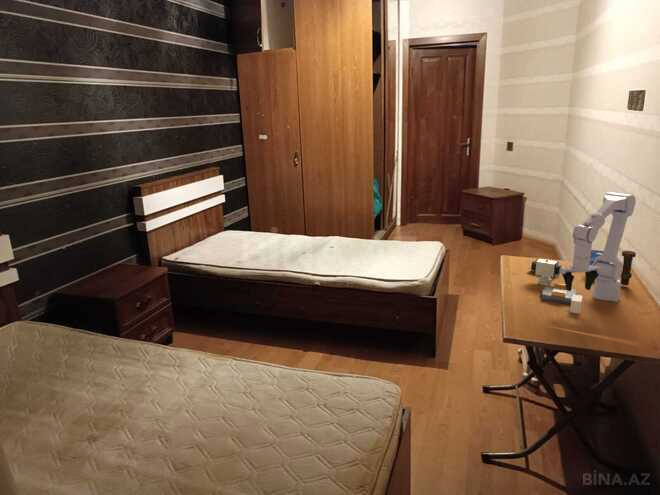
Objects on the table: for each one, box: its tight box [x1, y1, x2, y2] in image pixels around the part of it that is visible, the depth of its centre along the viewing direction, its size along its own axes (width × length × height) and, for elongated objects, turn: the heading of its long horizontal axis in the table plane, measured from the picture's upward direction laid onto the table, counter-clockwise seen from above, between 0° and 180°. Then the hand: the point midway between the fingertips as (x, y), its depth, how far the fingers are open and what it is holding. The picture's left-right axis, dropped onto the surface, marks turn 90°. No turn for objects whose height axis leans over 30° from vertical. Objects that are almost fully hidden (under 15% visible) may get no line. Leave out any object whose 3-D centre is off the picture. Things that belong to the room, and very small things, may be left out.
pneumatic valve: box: [530, 258, 563, 286], centre depth 214 cm, size 6×12×12 cm, turn 53°
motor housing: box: [540, 282, 577, 305], centre depth 200 cm, size 15×12×4 cm
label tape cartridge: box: [589, 249, 611, 266], centre depth 221 cm, size 9×4×12 cm, turn 61°
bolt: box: [620, 250, 637, 286], centre depth 210 cm, size 6×5×15 cm
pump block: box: [569, 294, 583, 315], centre depth 188 cm, size 4×7×5 cm, turn 150°
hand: (577, 289), depth 186 cm, fingers open, 7 cm apart
